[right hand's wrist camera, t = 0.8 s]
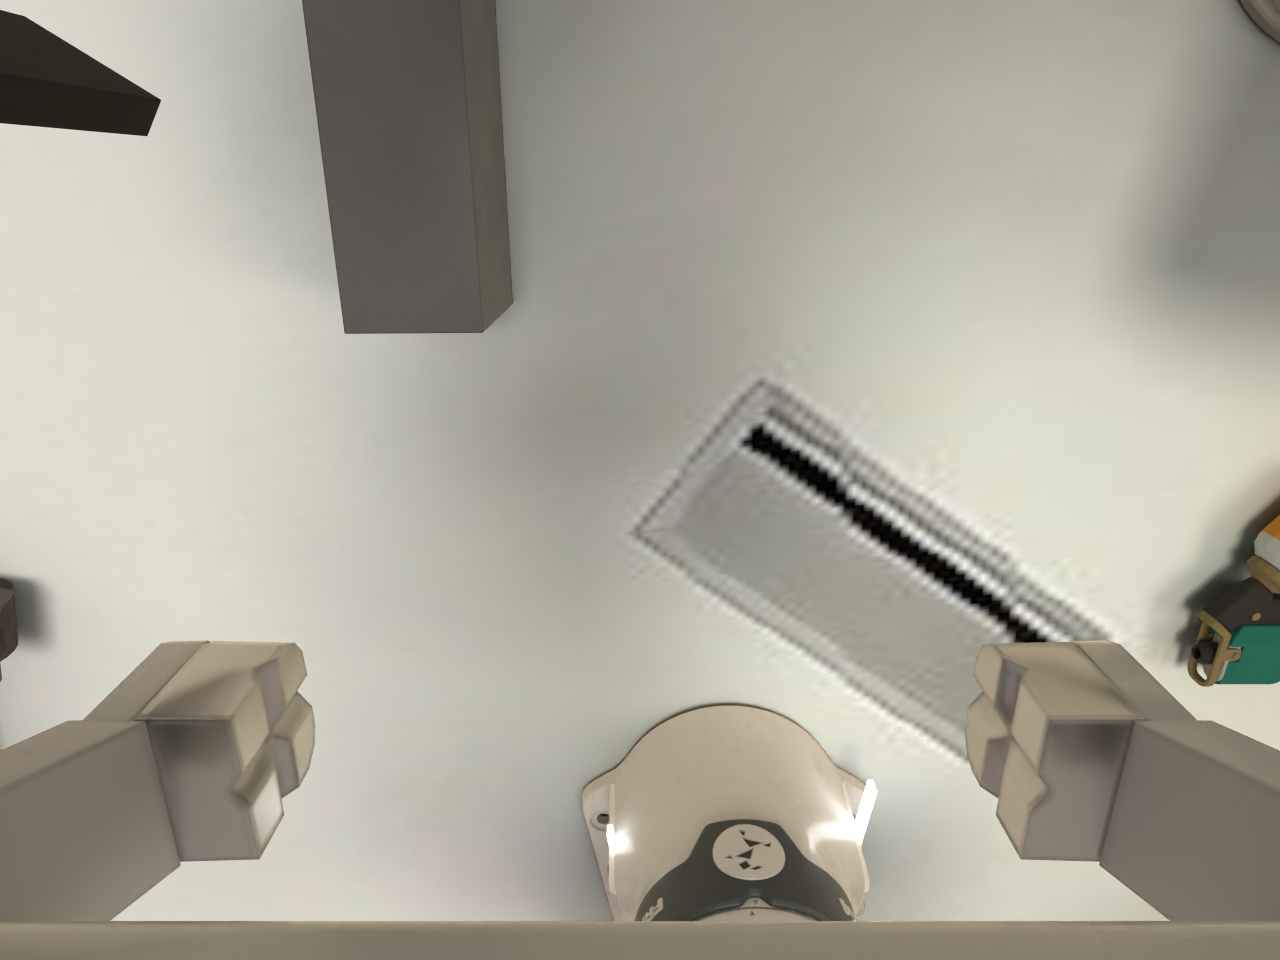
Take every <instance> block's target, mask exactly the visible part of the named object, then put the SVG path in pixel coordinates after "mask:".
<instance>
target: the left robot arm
mask: <svg viewBox="0 0 1280 960" xmlns="http://www.w3.org/2000/svg"><path fill="white" fill-rule="evenodd" d="M1240 1H1241V3H1242V5H1243V6H1244V8H1245V9H1246V11H1247V12H1248V13H1249V15H1250V16H1251V17H1252V19H1253V20H1254V21H1255V22H1256V23H1257V24H1258V25H1259V26H1260V27H1261V28H1262V29H1263V30H1264V31H1265V32H1266V33H1267V34H1269V35H1270V36H1271V37H1272V38H1274V39H1275V40H1276V41H1278V42H1280V0H1240ZM160 102H161V100H160V99H159V98H157V97H155V96H154V95H152V94H150V93H149V92H147V91H146V90H144V89H142V88H141V87H139V86H137V85H136V84H134V83H132V82H131V81H129V80H128V79H126V78H124V77H123V76H121V75H119V74H118V73H116V72H115V71H113V70H111V69H110V68H108V67H106V66H105V65H103V64H101V63H100V62H98V61H97V60H95V59H93V58H92V57H90V56H88V55H87V54H85V53H84V52H82V51H80V50H79V49H77V48H75V47H74V46H72V45H70V44H69V43H67V42H66V41H64V40H62V39H61V38H59V37H57V36H56V35H54V34H53V33H51V32H49V31H48V30H46V29H44V28H43V27H41V26H39V25H38V24H36V23H35V22H33V21H31V20H30V19H28V18H26V17H25V16H21V15H17V14H13V13H10V12H6V11H2V10H0V123H6V124H17V125H29V126H40V127H51V128H62V129H73V130H84V131H96V132H107V133H118V134H129V135H140V136H147V135H148V133H149V130H150V128H151V125H152V122H153V120H154V117H155V115H156V112H157V109H158V107H159V104H160Z"/></svg>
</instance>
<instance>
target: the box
mask: <svg viewBox="0 0 1280 960" xmlns="http://www.w3.org/2000/svg"><path fill="white" fill-rule="evenodd" d="M302 3H303V11H304V19H305V27H306V35H307V42H308V50H309V58H310V66H311V74H312V82H313V89H314V97H315V105H316V113H317V121H318V128H319V136H320V144H321V152H322V160H323V168H324V175H325V183H326V191H327V199H328V207H329V215H330V222H331V230H332V238H333V246H334V254H335V262H336V269H337V277H338V285H339V293H340V301H341V309H342V316H343V324H344V332H345V333H346V334H371V333H483V332H484V331H485V330H486V329H487V328H488V327H489V326H490V325H491V324H492V323H493V322H494V321H495V320H496V319H497V318H498V317H499V316H500V315H501V314H502V313H503V312H504V311H505V310H506V309H507V308H508V307H509V306H510V305H511V304H512V303H513V298H512V281H511V264H510V247H509V230H508V213H507V196H506V179H505V162H504V145H503V128H502V111H501V94H500V77H499V60H498V43H497V26H496V9H495V0H302Z"/></svg>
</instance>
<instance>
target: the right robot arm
mask: <svg viewBox="0 0 1280 960" xmlns="http://www.w3.org/2000/svg"><path fill="white" fill-rule="evenodd" d="M306 676H307V672H306V667H305V662H304V657H303V652H302V650H301V649H300V648H299V647H298V646H297V645H296V644H295V643H274V642H223V641H214V642H210V641H172V642H166V643H161V644H160V645H159V646H158V647H157V648H156V649H155V650H154V651H153V652H152V653H151V654H150V655H149V656H148V657H147V658H146V659H145V660H144V661H143V662H142V663H141V664H140V665H139V666H138V667H137V668H136V669H135V670H134V671H133V672H132V673H131V674H130V675H129V676H127V677H126V678H125V679H124V680H123V681H122V682H121V683H120V684H119V685H118V686H117V687H116V688H115V689H114V690H113V691H112V692H111V693H110V694H109V695H108V696H107V697H106V698H105V699H104V700H103V701H102V702H101V703H100V704H99V705H98V706H97V707H96V708H95V709H94V710H93V711H92V712H91V713H90V714H89V715H88V716H87V717H86V718H85V719H84V720H83V721H67V722H64V723H62V724H60V725H58V726H55V727H53V728H51V729H49V730H46V731H44V732H42V733H40V734H37V735H35V736H33V737H30V738H28V739H26V740H24V741H21V742H19V743H17V744H15V745H12V746H10V747H8V748H6V749H3V750H1V751H0V960H1280V751H1279V750H1276V749H1274V748H1272V747H1270V746H1267V745H1265V744H1263V743H1261V742H1258V741H1256V740H1254V739H1252V738H1249V737H1247V736H1245V735H1243V734H1240V733H1238V732H1236V731H1234V730H1231V729H1229V728H1227V727H1225V726H1222V725H1220V724H1218V723H1216V722H1213V721H1197V720H1196V719H1195V718H1194V717H1193V716H1192V715H1191V714H1190V713H1189V712H1188V711H1187V710H1186V709H1185V708H1184V707H1183V706H1182V705H1181V704H1180V703H1179V702H1178V701H1177V700H1176V699H1175V698H1174V697H1173V696H1172V695H1171V694H1170V693H1169V692H1168V691H1167V690H1166V689H1165V688H1164V687H1163V686H1162V685H1161V684H1160V683H1159V682H1158V681H1157V680H1156V679H1155V678H1154V677H1153V676H1152V675H1151V674H1150V673H1149V672H1148V671H1147V670H1146V669H1145V668H1144V667H1143V666H1142V665H1140V664H1139V663H1138V662H1137V661H1136V660H1135V659H1134V658H1133V657H1132V656H1131V655H1130V654H1129V653H1128V652H1127V651H1126V650H1125V649H1124V648H1123V647H1122V646H1121V645H1120V644H1117V643H1115V642H1112V641H1109V640H1105V641H1079V642H1046V643H1006V644H983V645H981V648H980V650H979V652H978V654H977V656H976V660H975V666H974V672H973V676H974V677H975V679H976V681H977V682H978V684H979V685H980V687H981V688H982V690H983V692H982V693H981V694H980V695H979V696H978V697H977V698H976V699H975V700H974V701H973V702H972V703H971V704H970V705H969V706H968V709H967V717H966V725H965V739H966V749H967V756H968V759H969V762H970V765H971V769H972V771H973V773H974V775H975V777H976V779H977V781H978V783H979V785H980V787H982V788H983V789H985V790H986V791H988V792H989V793H991V794H992V795H994V796H995V797H997V798H999V800H998V805H997V811H996V816H997V818H998V819H999V821H1000V823H1001V825H1002V827H1003V828H1004V830H1005V832H1006V834H1007V835H1008V837H1009V839H1010V841H1011V843H1012V844H1013V846H1014V848H1015V850H1016V852H1017V853H1018V855H1019V857H1020V859H1028V860H1064V861H1100V864H1099V865H1100V866H1101V867H1102V868H1104V869H1105V870H1106V871H1108V872H1109V873H1110V874H1111V875H1113V876H1114V877H1115V878H1116V879H1118V880H1119V881H1120V882H1122V883H1123V884H1124V885H1125V886H1127V887H1128V888H1129V889H1130V890H1132V891H1133V892H1134V893H1136V894H1137V895H1138V896H1139V897H1141V898H1142V899H1143V900H1144V901H1146V902H1147V903H1148V904H1150V905H1151V906H1152V907H1153V908H1155V909H1156V910H1157V911H1159V912H1160V913H1161V914H1162V915H1164V916H1165V917H1166V918H1167V919H1169V920H1170V921H857V920H856V916H862V914H863V912H864V893H866V892H868V891H869V876H868V872H867V868H866V864H865V860H864V856H863V852H862V848H861V843H862V840H863V837H864V833H865V830H866V827H867V824H868V820H869V817H870V814H871V811H872V807H873V804H874V801H875V798H876V794H877V790H876V787H875V785H874V782H873V780H868V781H867V784H866V785H865V784H864V783H863V782H861V781H860V780H859V779H857V778H856V777H854V776H852V775H851V774H849V773H847V772H845V771H843V770H841V769H840V768H838V767H836V766H835V765H834V764H833V763H832V761H831V760H830V759H829V758H828V756H827V755H826V754H825V752H824V751H823V749H822V748H821V747H820V745H819V744H818V743H817V742H816V741H815V739H814V738H813V737H812V736H811V735H810V734H808V733H807V732H806V731H805V730H804V729H802V728H801V727H800V726H798V725H797V724H795V723H793V722H792V721H790V720H788V719H786V718H784V717H782V716H780V715H778V714H775V713H772V712H769V711H766V710H762V709H758V708H753V707H747V706H735V705H725V706H712V707H705V708H700V709H696V710H692V711H689V712H686V713H683V714H680V715H678V716H676V717H673V718H671V719H669V720H667V721H665V722H664V723H662V724H660V725H659V726H657V727H656V728H654V729H653V730H652V731H650V732H649V733H648V734H647V735H645V736H644V737H643V738H642V739H641V740H640V741H639V742H638V743H637V744H636V745H635V747H634V748H633V749H632V750H631V752H630V753H629V754H628V756H627V757H626V758H625V759H624V761H623V762H622V763H621V764H620V765H619V766H618V767H617V768H616V769H614V770H612V771H610V772H608V773H606V774H604V775H602V776H601V777H599V778H597V779H596V780H594V781H592V782H591V783H590V784H588V785H587V786H586V787H585V789H584V790H583V792H582V809H583V813H584V816H585V820H586V823H587V827H588V831H589V834H590V838H591V841H592V845H593V848H594V852H595V855H596V859H597V862H598V866H599V869H600V873H601V876H602V880H603V883H604V887H605V890H606V894H607V897H608V901H609V905H610V908H611V912H612V915H613V919H614V921H110V920H112V919H113V918H114V917H115V916H117V915H118V914H119V913H120V912H122V911H123V910H124V909H126V908H127V907H128V906H129V905H131V904H132V903H133V902H135V901H136V900H137V899H138V898H140V897H141V896H142V895H143V894H145V893H146V892H147V891H149V890H150V889H151V888H152V887H154V886H155V885H156V884H157V883H159V882H160V881H161V880H163V879H164V878H165V877H166V876H168V875H169V874H170V873H172V872H173V871H174V870H175V869H177V868H178V867H179V866H180V861H215V860H250V859H260V857H261V855H262V853H263V852H264V850H265V848H266V846H267V844H268V843H269V841H270V839H271V837H272V836H273V834H274V832H275V830H276V828H277V827H278V825H279V823H280V821H281V819H282V818H283V816H284V811H283V805H282V800H281V798H283V797H285V796H286V795H288V794H289V793H291V792H292V791H294V790H295V789H297V788H298V787H300V785H301V783H302V781H303V779H304V777H305V775H306V773H307V771H308V769H309V766H310V762H311V757H312V753H313V749H314V745H315V722H314V715H313V709H312V706H311V705H310V704H309V703H308V702H307V701H306V700H305V699H304V698H303V697H302V696H301V695H300V694H299V693H298V692H297V690H298V688H299V687H300V685H301V684H302V682H303V680H304V679H305V677H306ZM603 813H604V814H607V816H601V815H600V814H603Z"/></svg>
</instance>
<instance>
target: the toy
mask: <svg viewBox="0 0 1280 960" xmlns="http://www.w3.org/2000/svg"><path fill="white" fill-rule="evenodd" d="M14 593H15V590H13V585H12V584H11V583H10V582H9V581H5V580H1V579H0V661H2V660H3V659H5V658H6V657H8V656H9V655H10V654H11V653H12V652H13V651H14V650H15V648H16V647H17V645H18V634H17V623H16V613H15V603H14ZM1 680H2V675H1V666H0V681H1Z"/></svg>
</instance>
